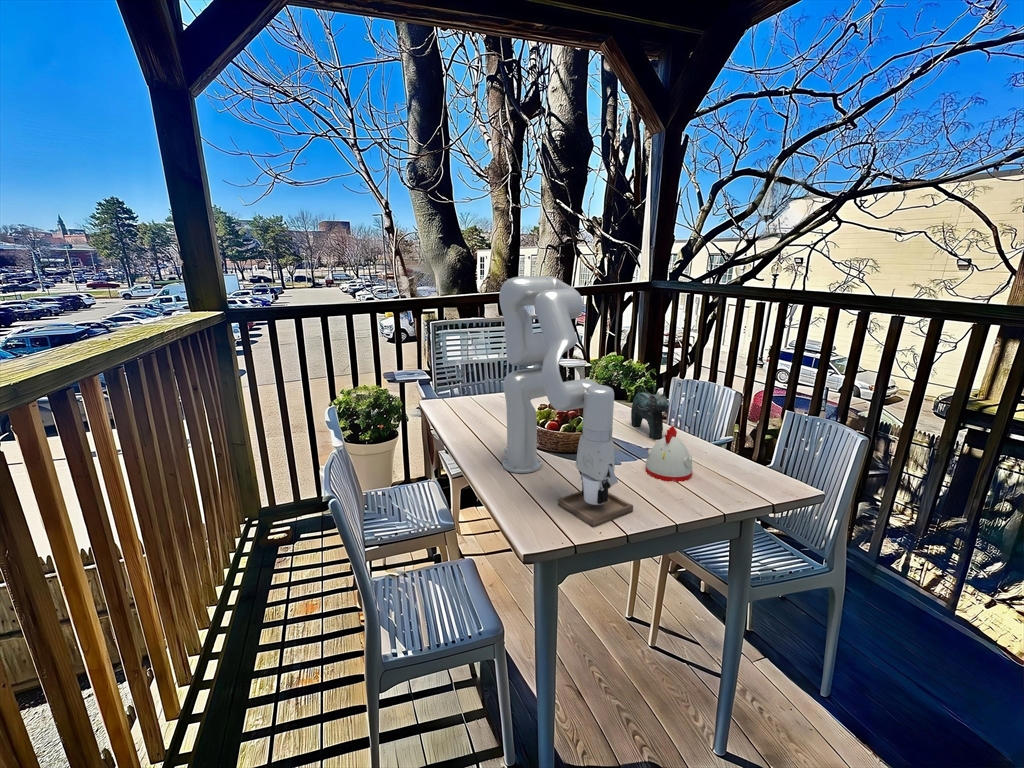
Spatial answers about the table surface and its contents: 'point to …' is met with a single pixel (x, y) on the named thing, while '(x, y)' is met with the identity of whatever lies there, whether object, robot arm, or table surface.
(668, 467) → the kitchen timer
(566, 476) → the table surface
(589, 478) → the shot glass
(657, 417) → the dark green animal figurine
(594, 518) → the walnut tray
